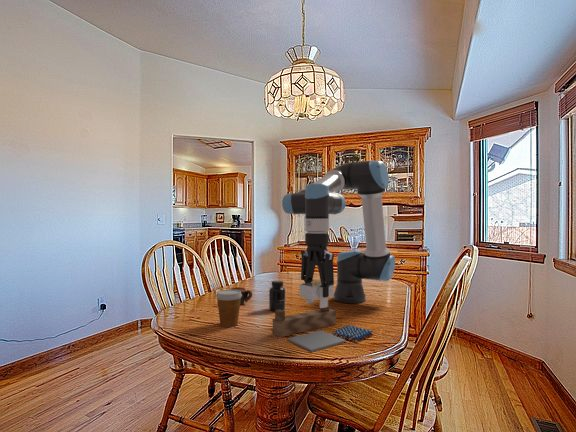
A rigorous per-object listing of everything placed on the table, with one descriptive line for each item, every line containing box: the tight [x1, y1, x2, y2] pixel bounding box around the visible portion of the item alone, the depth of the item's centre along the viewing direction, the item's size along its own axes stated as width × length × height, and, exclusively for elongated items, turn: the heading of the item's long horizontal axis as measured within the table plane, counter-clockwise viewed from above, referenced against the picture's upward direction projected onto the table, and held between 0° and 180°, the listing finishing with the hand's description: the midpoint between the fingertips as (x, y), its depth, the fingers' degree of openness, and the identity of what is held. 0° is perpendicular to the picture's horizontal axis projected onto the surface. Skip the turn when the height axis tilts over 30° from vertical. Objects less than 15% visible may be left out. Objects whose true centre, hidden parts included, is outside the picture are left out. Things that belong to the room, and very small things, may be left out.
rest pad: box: [287, 329, 347, 353], centre depth 114 cm, size 14×12×1 cm
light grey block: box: [299, 279, 335, 301], centre depth 114 cm, size 9×6×5 cm, turn 126°
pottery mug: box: [231, 286, 253, 306], centre depth 164 cm, size 12×10×8 cm
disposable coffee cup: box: [215, 288, 242, 328], centre depth 132 cm, size 10×10×12 cm
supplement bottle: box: [268, 280, 286, 312], centre depth 153 cm, size 7×7×12 cm
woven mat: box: [331, 324, 374, 343], centre depth 120 cm, size 10×11×2 cm
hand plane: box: [272, 301, 337, 338], centre depth 127 cm, size 25×4×8 cm, turn 126°
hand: (316, 304), depth 114 cm, fingers closed on light grey block, 6 cm apart
